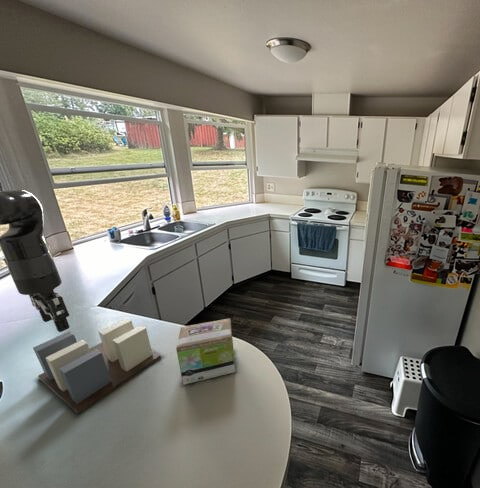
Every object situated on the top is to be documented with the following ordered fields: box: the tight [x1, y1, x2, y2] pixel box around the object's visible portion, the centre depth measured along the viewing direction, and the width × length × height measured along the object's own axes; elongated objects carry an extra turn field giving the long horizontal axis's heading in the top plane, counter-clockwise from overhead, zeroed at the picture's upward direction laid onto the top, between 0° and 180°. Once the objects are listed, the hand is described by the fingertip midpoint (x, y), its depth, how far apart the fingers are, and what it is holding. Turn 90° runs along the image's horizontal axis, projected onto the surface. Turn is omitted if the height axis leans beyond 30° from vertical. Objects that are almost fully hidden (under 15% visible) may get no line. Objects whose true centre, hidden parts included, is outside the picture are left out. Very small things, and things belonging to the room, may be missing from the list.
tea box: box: [175, 318, 236, 386], centre depth 79 cm, size 15×10×15 cm
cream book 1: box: [46, 339, 90, 391], centre depth 73 cm, size 8×3×11 cm, turn 154°
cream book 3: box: [112, 325, 153, 372], centre depth 80 cm, size 8×3×11 cm, turn 154°
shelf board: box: [37, 342, 162, 415], centre depth 80 cm, size 22×24×1 cm
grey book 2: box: [59, 349, 111, 404], centre depth 70 cm, size 8×3×11 cm, turn 154°
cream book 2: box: [98, 317, 135, 362], centre depth 83 cm, size 8×3×11 cm, turn 154°
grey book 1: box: [32, 331, 78, 380], centre depth 76 cm, size 8×3×11 cm, turn 154°
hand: (56, 324), depth 68 cm, fingers open, 8 cm apart
